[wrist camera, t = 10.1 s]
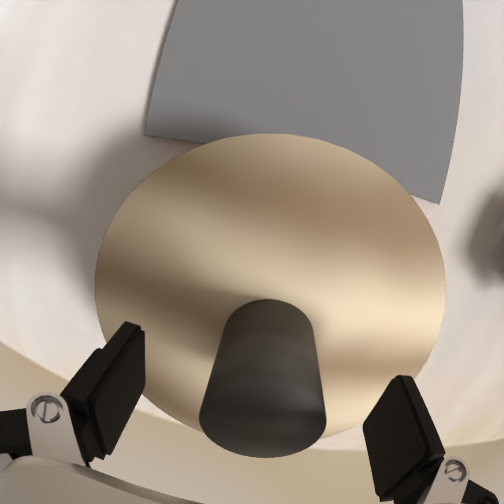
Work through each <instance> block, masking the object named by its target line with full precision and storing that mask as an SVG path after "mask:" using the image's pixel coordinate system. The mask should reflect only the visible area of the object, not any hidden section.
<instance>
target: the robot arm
mask: <svg viewBox="0 0 504 504" xmlns="http://www.w3.org/2000/svg"><path fill="white" fill-rule="evenodd" d="M145 384H146V373H145V331H143V330H141V326H140V325H137V324H134V323H131V322H128V321H125V322H124V323H123V324H122V325H121V326H120V328H119V329H118V330H117V331H116V333H115V334H114V335H113V336H112V338H111V339H110V340H109V341H108V343H107V344H106V345H105V346H104V348H103V349H100V348H98V349H96V350H95V351H94V352H93V353H92V354H91V355H90V357H89V358H88V359H87V360H86V362H85V363H84V364H83V365H82V367H81V368H80V369H79V371H78V372H77V373H76V374H75V376H74V377H73V378H72V379H71V381H70V382H69V383H68V385H67V386H66V387H65V389H64V390H63V391H62V393H61V394H60V395H58V394H55V393H52V392H41V393H37V394H36V395H34V396H33V397H31V399H29V401H28V403H27V407H26V408H23V409H17V410H9V411H0V504H203V503H198V502H193V501H189V500H185V499H181V498H177V497H174V496H170V495H167V494H163V493H160V492H156V491H153V490H150V489H147V488H143V487H140V486H137V485H134V484H131V483H128V482H126V481H123V480H120V479H118V478H115V477H112V476H110V475H107V474H104V473H101V472H99V471H96V470H93V469H92V468H91V465H90V462H92V461H93V459H94V457H97V458H99V459H102V460H104V458H105V455H106V454H108V455H111V454H112V452H113V450H114V448H115V446H116V444H117V442H118V440H119V438H120V436H121V433H122V431H123V430H124V428H125V426H126V424H127V422H128V420H129V418H130V415H131V414H132V412H133V410H134V408H135V406H136V404H137V402H138V400H139V398H140V396H141V394H142V392H143V390H144V388H145ZM363 433H364V437H365V442H366V446H367V451H368V456H369V461H370V466H371V470H372V476H373V481H374V486H375V492H376V494H377V495H378V496H379V498H380V502H385V501H392V500H394V504H499V502H498V499H497V497H496V496H495V494H493V493H492V492H490V491H488V490H487V489H485V488H483V487H481V486H480V485H478V484H476V483H474V482H473V481H471V480H469V468H468V466H467V464H466V463H465V462H464V461H463V460H462V459H460V458H458V457H455V456H450V457H447V458H446V459H444V457H443V455H444V454H445V453H446V452H445V450H444V447H443V445H442V442H441V440H440V438H439V435H438V433H437V430H436V428H435V426H434V423H433V421H432V419H431V416H430V414H429V412H428V410H427V407H426V405H425V403H424V401H423V398H422V396H421V394H420V392H419V390H418V388H417V386H416V383H415V381H414V379H413V377H412V376H410V375H397V376H396V377H395V378H393V379H391V381H390V382H389V384H388V386H387V387H386V389H385V391H384V392H383V394H382V395H381V397H380V398H379V400H378V401H377V403H376V405H375V406H374V408H373V409H372V410H371V412H370V413H369V415H368V416H367V418H366V419H365V421H364V423H363Z"/></svg>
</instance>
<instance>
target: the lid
mask: <svg viewBox="0 0 504 504" xmlns="http://www.w3.org/2000/svg"><path fill="white" fill-rule="evenodd" d="M95 299H96V308H97V314H98V318H99V322H100V326H101V329H102V333H103V335H104V338H105V340H106V343H108V341H109V340H110V339H111V338H112V336H113V335H114V334H115V333H116V331H117V330H118V329H119V328H120V326H121V325H122V324H123V323H124V322H125V321H128V322H131V323H134V324H137V325H140V326H141V330H143V331H145V373H146V384H145V388H144V390H143V392H142V394H143V395H144V396H145V397H146V398H147V399H148V400H149V401H151V402H152V403H153V404H154V405H155V406H157V407H158V408H159V409H161V410H162V411H164V412H165V413H166V414H168V415H169V416H171V417H173V418H174V419H176V420H178V421H180V422H181V423H183V424H185V425H187V426H189V427H192V428H194V429H196V430H198V431H201V432H203V433H205V434H206V435H207V437H208V438H209V439H211V440H212V441H213V442H214V443H216V444H217V445H219V446H220V447H222V448H224V449H226V450H228V451H231V452H234V453H237V454H240V455H244V456H249V457H257V458H274V457H282V456H287V455H291V454H294V453H297V452H300V451H302V450H304V449H306V448H308V447H310V446H311V445H313V444H314V443H315V442H316V441H317V440H318V439H322V438H326V437H329V436H332V435H335V434H338V433H341V432H343V431H346V430H348V429H350V428H352V427H354V426H357V425H359V424H361V423H362V422H364V421H365V419H366V418H367V416H368V415H369V413H370V412H371V410H372V409H373V408H374V406H375V405H376V403H377V401H378V400H379V398H380V397H381V395H382V394H383V392H384V391H385V389H386V387H387V386H388V384H389V382H390V381H391V379H393V378H395V377H396V376H397V375H410V376H412V377H413V379H415V378H416V376H417V375H418V373H419V372H420V370H421V369H422V367H423V366H424V364H425V363H426V361H427V359H428V357H429V355H430V353H431V351H432V349H433V347H434V345H435V343H436V340H437V337H438V334H439V331H440V328H441V325H442V320H443V315H444V309H445V300H446V279H445V270H444V262H443V259H442V255H441V251H440V248H439V244H438V241H437V239H436V236H435V234H434V232H433V230H432V228H431V226H430V224H429V221H428V219H427V218H426V216H425V215H424V213H423V212H422V210H421V209H420V207H419V206H418V204H417V203H416V202H415V200H414V199H413V198H412V197H411V196H410V194H409V193H408V192H407V191H406V190H405V189H404V188H403V187H402V186H401V185H400V184H399V183H398V182H397V181H396V180H395V179H394V178H393V177H391V176H390V175H389V174H387V173H386V172H385V171H383V170H382V169H381V168H379V167H378V166H377V165H375V164H374V163H373V162H371V161H369V160H367V159H365V158H363V157H361V156H360V155H358V154H356V153H354V152H352V151H350V150H348V149H346V148H343V147H340V146H337V145H334V144H331V143H328V142H325V141H322V140H319V139H314V138H308V137H303V136H297V135H290V134H250V135H243V136H236V137H229V138H224V139H221V140H218V141H214V142H211V143H208V144H205V145H201V146H198V147H196V148H194V149H192V150H190V151H188V152H186V153H183V154H181V155H179V156H177V157H175V158H173V159H172V160H170V161H169V162H167V163H166V164H164V165H163V166H161V167H160V168H158V169H157V170H156V171H154V172H153V173H151V174H150V175H149V176H148V177H147V178H146V179H145V180H144V181H143V182H142V183H141V184H139V185H138V186H137V187H136V188H135V189H134V190H133V191H132V192H131V193H130V195H129V196H128V197H127V199H126V200H125V201H124V203H123V204H122V205H121V207H120V208H119V210H118V211H117V212H116V214H115V216H114V218H113V220H112V222H111V224H110V225H109V227H108V229H107V231H106V234H105V236H104V239H103V242H102V245H101V248H100V251H99V255H98V261H97V267H96V273H95Z"/></svg>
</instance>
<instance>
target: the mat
mask: <svg viewBox="0 0 504 504" xmlns="http://www.w3.org/2000/svg"><path fill="white" fill-rule="evenodd" d="M462 68H463V4H462V0H178V3H177V6H176V9H175V12H174V15H173V18H172V21H171V25H170V28H169V31H168V34H167V38H166V41H165V45H164V48H163V52H162V56H161V59H160V63H159V67H158V71H157V75H156V80H155V84H154V88H153V93H152V97H151V102H150V107H149V112H148V117H147V122H146V127H145V133H144V135H145V136H154V137H162V138H170V139H178V140H185V141H192V142H199V143H205V144H208V143H211V142H214V141H218V140H221V139H224V138H229V137H236V136H243V135H250V134H290V135H297V136H303V137H308V138H314V139H319V140H322V141H325V142H328V143H331V144H334V145H337V146H340V147H343V148H346V149H348V150H350V151H352V152H354V153H356V154H358V155H360V156H361V157H363V158H365V159H367V160H369V161H371V162H373V163H374V164H375V165H377V166H378V167H379V168H381V169H382V170H383V171H385V172H386V173H387V174H389V175H390V176H391V177H393V178H394V179H395V180H396V181H397V182H398V183H399V184H400V185H401V186H402V187H403V188H404V189H405V190H406V191H407V192H408V193H409V194H411V195H413V196H416V197H419V198H422V199H425V200H428V201H430V202H433V203H436V204H438V205H439V204H440V200H441V197H442V193H443V189H444V185H445V181H446V176H447V172H448V168H449V163H450V158H451V153H452V148H453V143H454V137H455V131H456V125H457V118H458V110H459V102H460V93H461V82H462Z"/></svg>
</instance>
